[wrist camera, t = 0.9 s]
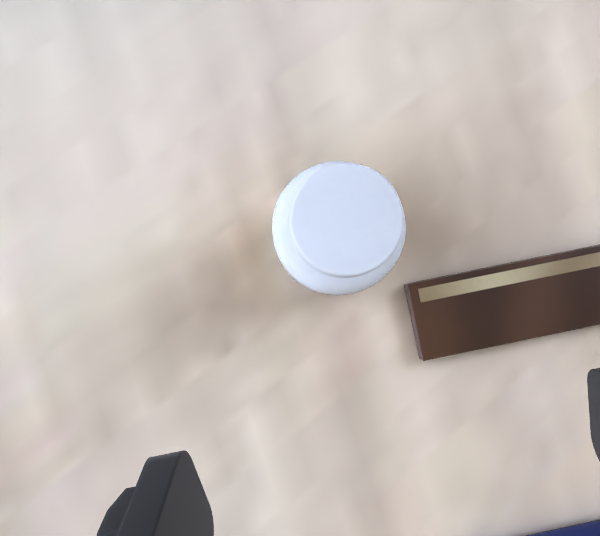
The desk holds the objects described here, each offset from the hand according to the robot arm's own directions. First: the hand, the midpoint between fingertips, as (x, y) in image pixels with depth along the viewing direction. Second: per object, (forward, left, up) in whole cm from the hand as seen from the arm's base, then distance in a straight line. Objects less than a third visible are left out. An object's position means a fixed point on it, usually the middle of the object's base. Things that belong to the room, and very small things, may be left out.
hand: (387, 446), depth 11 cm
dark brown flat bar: (0, +13, -17) cm, 22 cm away
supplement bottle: (-5, +1, -17) cm, 18 cm away
